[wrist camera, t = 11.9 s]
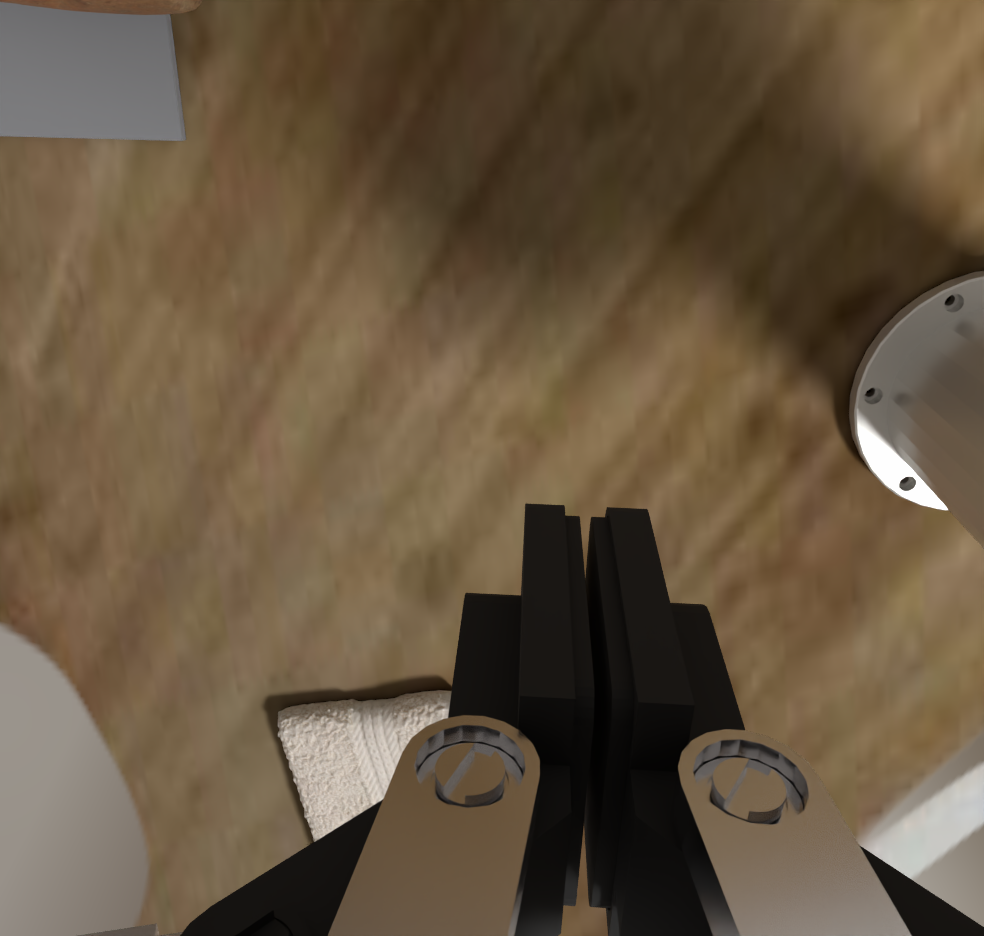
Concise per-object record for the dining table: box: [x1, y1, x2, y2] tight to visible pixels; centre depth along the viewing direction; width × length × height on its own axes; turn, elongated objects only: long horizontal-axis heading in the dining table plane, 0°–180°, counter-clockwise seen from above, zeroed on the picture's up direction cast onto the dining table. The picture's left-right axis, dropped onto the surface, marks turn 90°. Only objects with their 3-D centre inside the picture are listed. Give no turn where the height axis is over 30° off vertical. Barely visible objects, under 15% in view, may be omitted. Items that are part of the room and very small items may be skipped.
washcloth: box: [278, 690, 451, 842], centre depth 57 cm, size 12×18×3 cm, turn 10°
